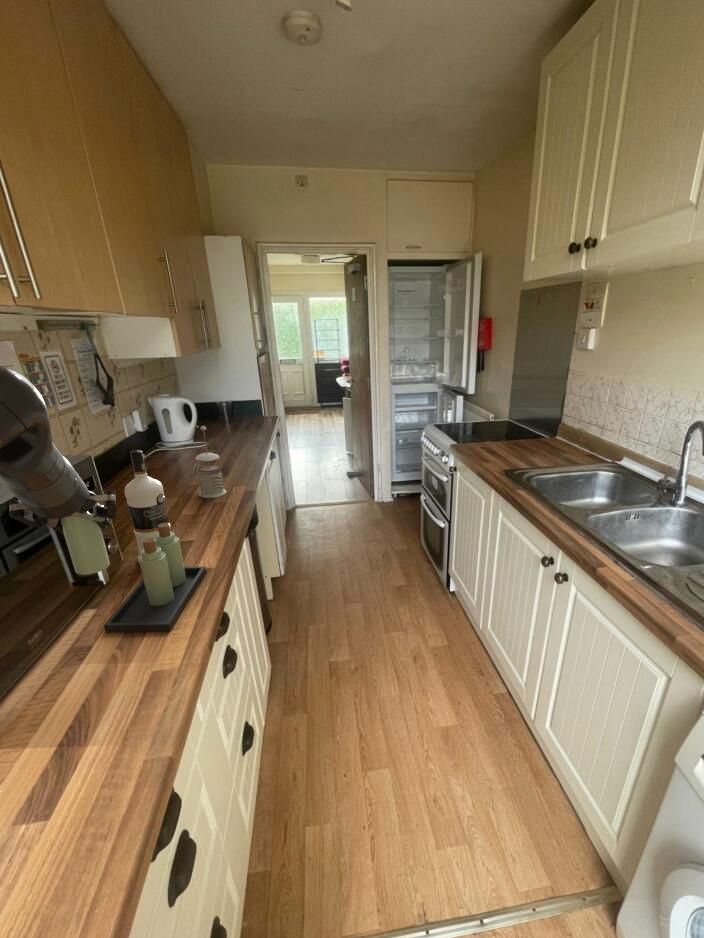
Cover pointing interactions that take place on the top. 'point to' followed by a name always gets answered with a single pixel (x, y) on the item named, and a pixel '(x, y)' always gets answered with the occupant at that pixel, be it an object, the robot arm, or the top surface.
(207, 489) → the french press
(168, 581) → the bottle mid
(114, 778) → the top surface
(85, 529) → the bottle loose
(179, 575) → the bottle back
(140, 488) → the vodka
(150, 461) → the top surface
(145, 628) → the tray
